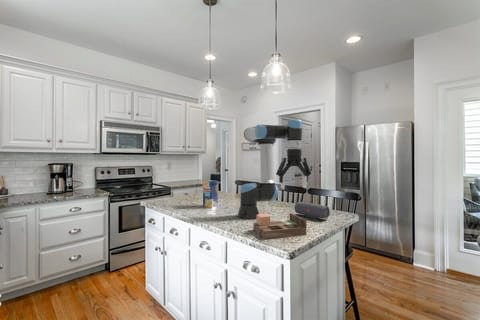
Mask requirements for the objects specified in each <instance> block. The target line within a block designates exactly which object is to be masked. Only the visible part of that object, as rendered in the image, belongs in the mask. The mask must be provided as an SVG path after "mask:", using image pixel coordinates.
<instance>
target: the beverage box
mask: <svg viewBox="0 0 480 320" xmlns="http://www.w3.org/2000/svg"><path fill="white" fill-rule="evenodd" d="M218 184H219V182H218V180H212V179H211V180H210V179H205V180H203V181H202V207H204V208H208V209H214V208H218V207H219V206H218V203H219V201H218V196H219V195H218V190H219V188H218V186H219V185H218Z"/></svg>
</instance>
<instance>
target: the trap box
mask: <svg viewBox="0 0 480 320" xmlns="http://www.w3.org/2000/svg"><path fill="white" fill-rule="evenodd" d="M252 225H253V226H252V227H253V231H254V232H255V233H257V235H259V236H260V237H261V238H263V239H264V240H269V239H278V238H288V237H296V236H304V235H307V219H305V218H304V217H303V218H302V217H300V216H298V215H296V214H294V213H292V212H290V213H289V219H282V220H281V219H280V220H270V225H267V226H260V225H258V224H257V223H256V222H253V224H252Z"/></svg>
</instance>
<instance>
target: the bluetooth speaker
mask: <svg viewBox="0 0 480 320" xmlns="http://www.w3.org/2000/svg"><path fill="white" fill-rule="evenodd" d="M294 212H295V213H297V214H299V215H303V216H304V217H306V218H310V219H315V220H319V219H324V220H326V219H328V218H329V217H330V207H329V206H326V205H323V204H319V203H314V202H305V201H296V203H295V205H294Z"/></svg>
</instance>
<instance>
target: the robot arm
mask: <svg viewBox="0 0 480 320" xmlns="http://www.w3.org/2000/svg"><path fill="white" fill-rule="evenodd" d="M302 125H303V121H302V119H295V118H294V119H288V120H287V124H286V125H277V124H276V125H275V124H274V125H273V124H257V125H256V126H250V127H249V126H248V127H247V128H245V130H243V131H244V132H243V139H245V140H246V141H247V142H250V143H254V144H255V143H256V144H257V146H258V147H259V152H260V159H259V160H260V181H259V182H258V183H255V182H252V183H250V182H249V183H244V184H242V185H240V206H239V208H238V212H237V218H240V219H243V220H254V219H256V215H258V214H260V211H259V208H258V206H257V205H258V202H273V201H275V200H276V199H277V198H278V194H279V187H278V185H277V184H276V182H275V180H274V179H273V178H274V177H273V174H274V173H273V172H274V171H273V146H274V145H275V143H277V139H280V140H287V142H286V143H287V144H286V146H287V147H286V148H287V150H286V156H287V157H282V158H281V162H280V163H279V167H278V169H277V171H276V176H278V177H279V183H280V189H281V190H285V189H286V188H285V187H286V185H285V184H286V183H285V181H286V180H285V179H286V176H285V174H286V173H287V172H288V171H289V169H290V168H291V167H298V169H299V170H300V172H301V173H302V174H303V175H302V188H304V189H308V188H307V182H308V180H309V178H308V177H309V176H310V175H312V172H311V169H310V167H309V165H308V162H307V157H302V152H303V151H302V142H303V140H302V138H303V135H302V134H303V126H302Z"/></svg>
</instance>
